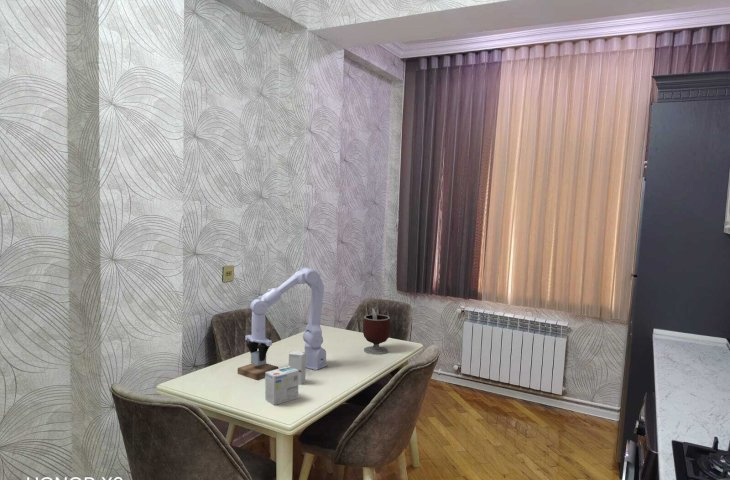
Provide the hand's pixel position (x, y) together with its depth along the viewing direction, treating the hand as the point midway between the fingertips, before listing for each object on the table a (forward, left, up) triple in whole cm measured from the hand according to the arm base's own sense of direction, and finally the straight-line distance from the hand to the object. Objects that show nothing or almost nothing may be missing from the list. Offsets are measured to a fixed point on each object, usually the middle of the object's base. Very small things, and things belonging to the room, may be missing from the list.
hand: (258, 359), depth 202 cm
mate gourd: (-19, -60, -6) cm, 63 cm away
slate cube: (0, 0, -2) cm, 2 cm away
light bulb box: (-28, +13, -6) cm, 31 cm away
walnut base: (0, 0, -6) cm, 6 cm away
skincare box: (-20, -3, -6) cm, 21 cm away
